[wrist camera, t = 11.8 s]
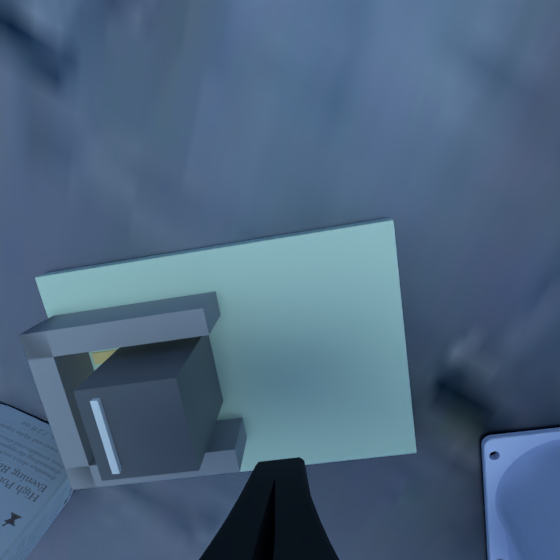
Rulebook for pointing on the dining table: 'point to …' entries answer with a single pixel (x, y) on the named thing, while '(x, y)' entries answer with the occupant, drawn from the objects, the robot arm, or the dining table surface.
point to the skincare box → (28, 482)
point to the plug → (151, 408)
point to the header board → (245, 345)
